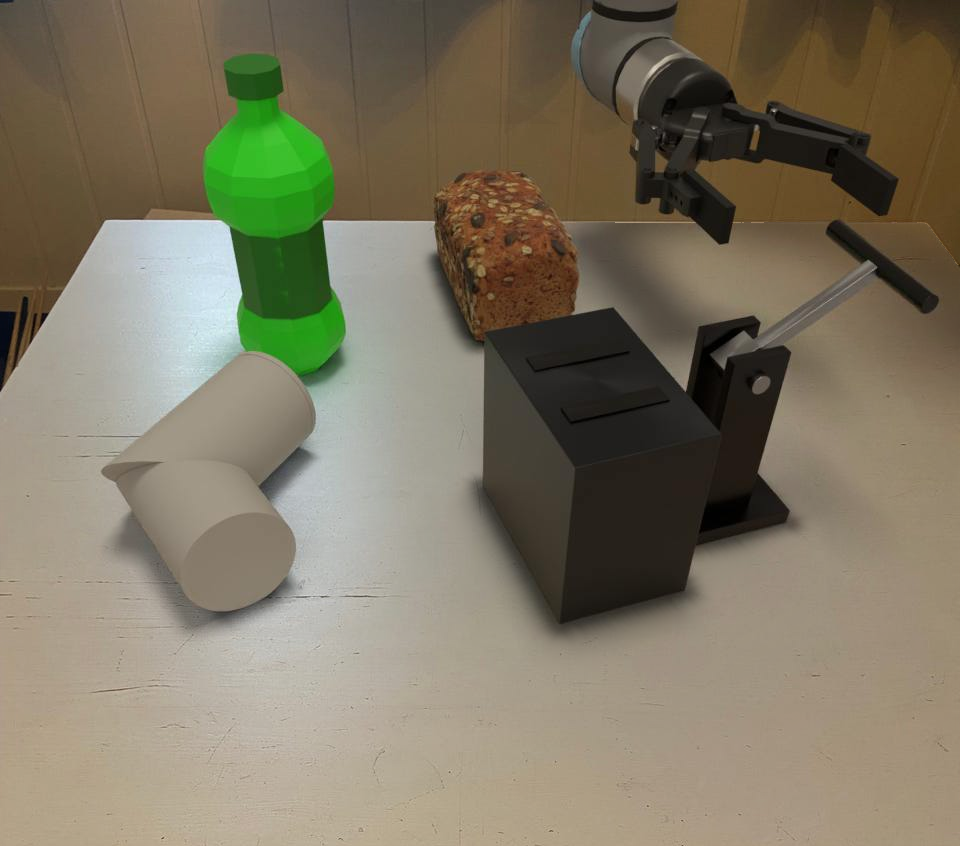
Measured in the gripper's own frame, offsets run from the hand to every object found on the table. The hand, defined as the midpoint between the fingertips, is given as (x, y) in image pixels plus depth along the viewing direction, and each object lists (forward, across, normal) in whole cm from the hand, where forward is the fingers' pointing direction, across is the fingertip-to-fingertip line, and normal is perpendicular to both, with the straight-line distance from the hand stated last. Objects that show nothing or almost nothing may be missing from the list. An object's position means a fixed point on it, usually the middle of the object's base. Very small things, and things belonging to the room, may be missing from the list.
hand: (810, 211), depth 71 cm
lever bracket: (+8, +9, -18) cm, 22 cm away
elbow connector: (-3, +45, -19) cm, 48 cm away
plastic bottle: (-22, +36, -19) cm, 46 cm away
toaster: (+8, +20, -18) cm, 29 cm away
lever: (+8, +4, -4) cm, 10 cm away
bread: (-27, +14, -19) cm, 36 cm away
